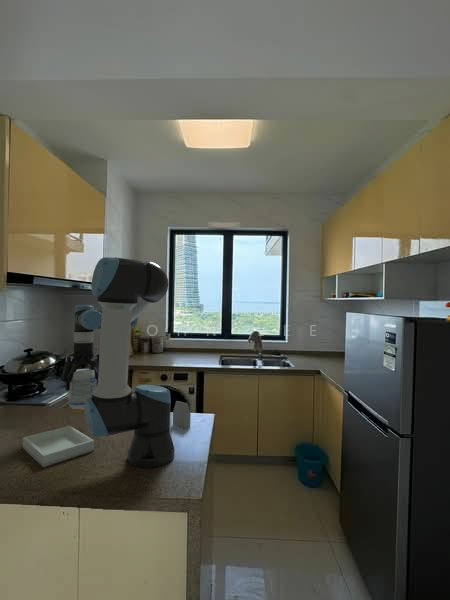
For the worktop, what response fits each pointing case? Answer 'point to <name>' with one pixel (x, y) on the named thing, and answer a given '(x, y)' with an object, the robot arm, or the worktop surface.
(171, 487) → the worktop surface
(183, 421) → the grey block
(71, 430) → the tray
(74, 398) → the supplement tub
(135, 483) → the worktop surface
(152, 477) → the worktop surface
